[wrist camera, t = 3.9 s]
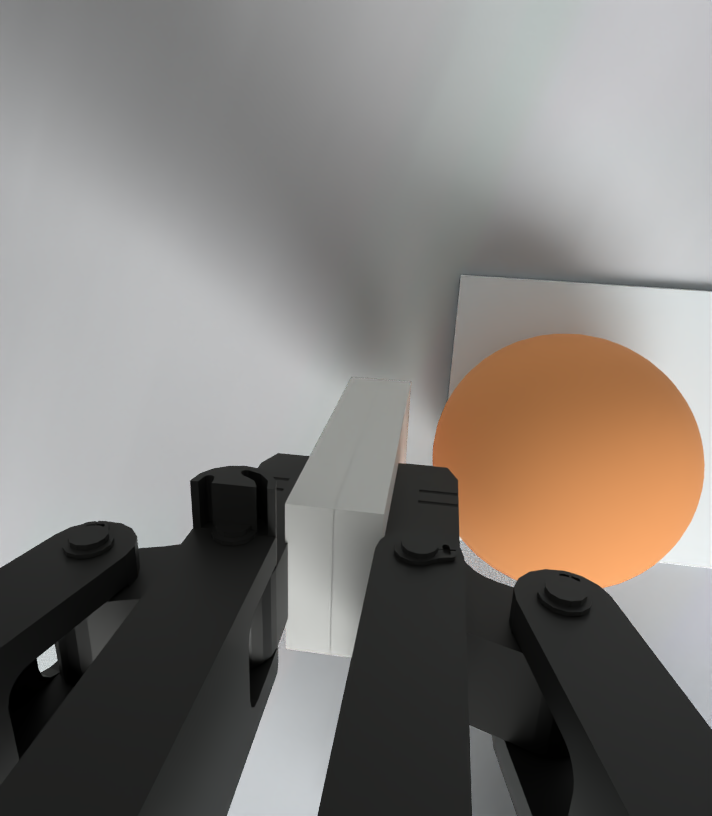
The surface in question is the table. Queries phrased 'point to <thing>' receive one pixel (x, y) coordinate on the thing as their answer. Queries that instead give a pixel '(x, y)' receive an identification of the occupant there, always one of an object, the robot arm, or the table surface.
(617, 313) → the white square tile
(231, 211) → the table surface
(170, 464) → the table surface
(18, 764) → the robot arm
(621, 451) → the ball
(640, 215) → the table surface
